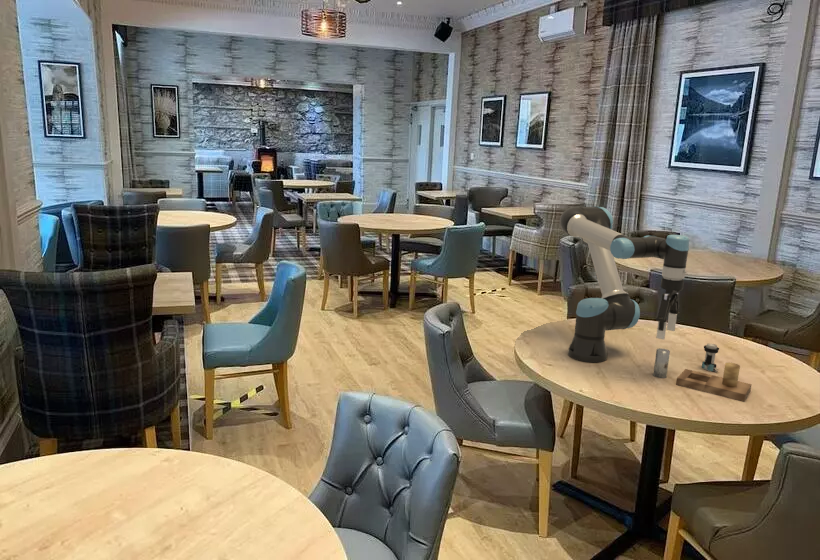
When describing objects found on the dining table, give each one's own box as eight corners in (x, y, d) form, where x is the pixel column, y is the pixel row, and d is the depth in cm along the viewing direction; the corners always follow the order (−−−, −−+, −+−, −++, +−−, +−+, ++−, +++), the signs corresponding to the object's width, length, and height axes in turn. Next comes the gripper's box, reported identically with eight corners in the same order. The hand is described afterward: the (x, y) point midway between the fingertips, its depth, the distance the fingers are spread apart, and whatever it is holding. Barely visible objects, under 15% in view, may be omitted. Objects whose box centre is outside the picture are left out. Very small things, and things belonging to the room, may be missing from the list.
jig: (676, 384, 216) (679, 358, 214) (684, 375, 226) (688, 350, 223) (744, 401, 203) (748, 373, 201) (750, 391, 212) (754, 364, 210)
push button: (722, 372, 230) (725, 347, 228) (712, 373, 228) (716, 348, 226) (707, 366, 236) (710, 342, 234) (697, 367, 234) (701, 343, 232)
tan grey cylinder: (651, 376, 224) (654, 350, 222) (655, 372, 227) (658, 347, 225) (664, 379, 221) (667, 353, 219) (668, 375, 225) (671, 350, 223)
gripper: (674, 285, 204) (666, 344, 209) (692, 274, 224) (685, 329, 228) (652, 281, 209) (644, 340, 213) (671, 271, 228) (664, 325, 233)
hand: (665, 334), depth 221 cm, fingers open, 13 cm apart
